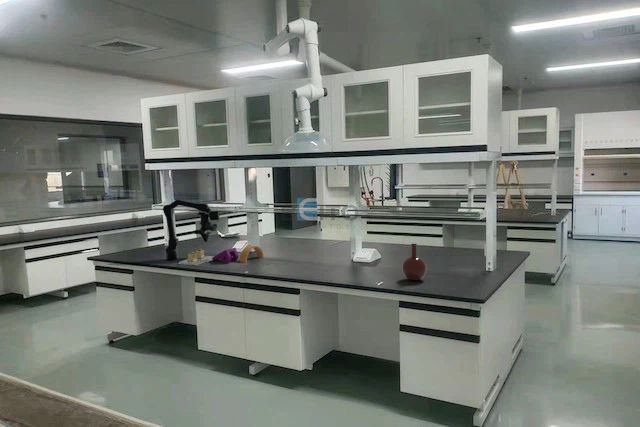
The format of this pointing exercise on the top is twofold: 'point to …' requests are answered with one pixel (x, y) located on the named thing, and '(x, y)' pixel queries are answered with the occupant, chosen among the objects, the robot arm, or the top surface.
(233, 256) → the mounting bracket
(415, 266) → the round-bottom flask
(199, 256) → the sliding leg
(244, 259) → the arch
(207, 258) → the pitch plate
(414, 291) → the top surface
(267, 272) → the top surface
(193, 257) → the fixed leg
